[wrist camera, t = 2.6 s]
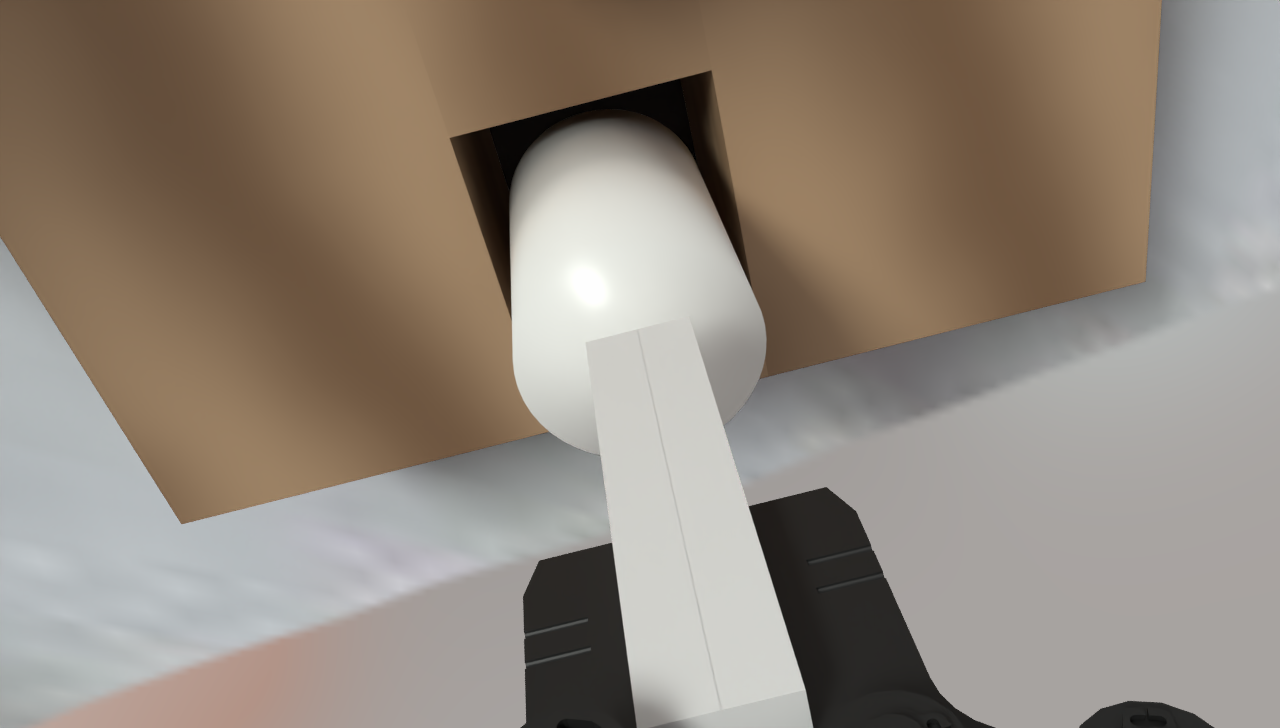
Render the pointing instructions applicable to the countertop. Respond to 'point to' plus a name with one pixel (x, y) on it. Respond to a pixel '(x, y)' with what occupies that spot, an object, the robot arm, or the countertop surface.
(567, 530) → the countertop surface
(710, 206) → the white glossy ovoid
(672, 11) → the walnut block
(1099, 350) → the countertop surface
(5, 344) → the countertop surface
